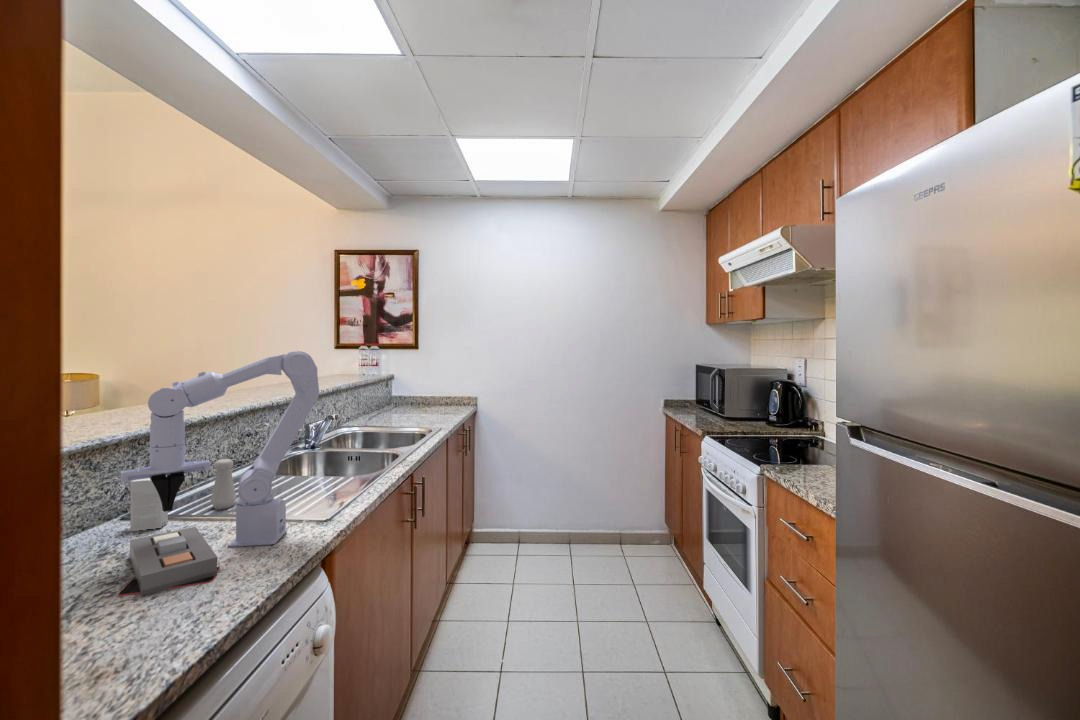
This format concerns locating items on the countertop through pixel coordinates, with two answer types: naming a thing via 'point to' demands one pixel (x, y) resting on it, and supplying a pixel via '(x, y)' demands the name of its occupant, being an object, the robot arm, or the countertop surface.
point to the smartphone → (134, 589)
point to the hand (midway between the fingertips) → (167, 510)
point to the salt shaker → (223, 485)
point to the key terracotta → (176, 559)
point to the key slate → (171, 545)
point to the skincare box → (146, 506)
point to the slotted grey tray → (160, 578)
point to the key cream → (164, 537)
